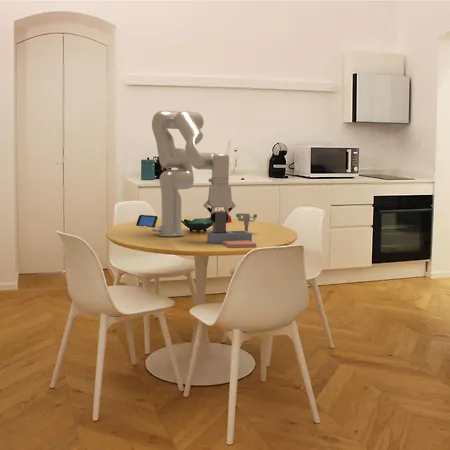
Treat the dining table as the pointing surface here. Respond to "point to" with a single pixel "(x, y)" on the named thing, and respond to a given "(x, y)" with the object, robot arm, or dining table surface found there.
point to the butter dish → (228, 218)
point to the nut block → (219, 222)
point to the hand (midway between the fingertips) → (219, 221)
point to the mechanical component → (245, 219)
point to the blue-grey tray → (228, 236)
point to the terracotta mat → (239, 244)
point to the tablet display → (147, 221)
